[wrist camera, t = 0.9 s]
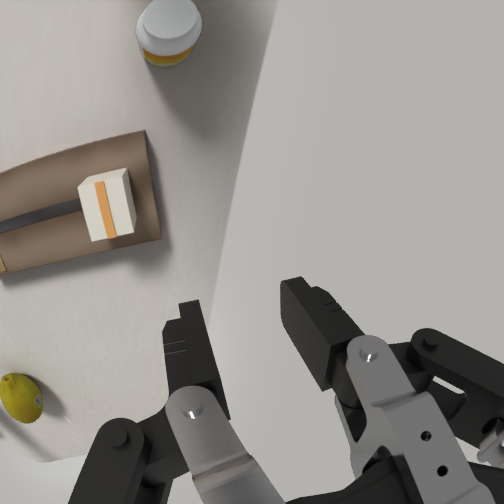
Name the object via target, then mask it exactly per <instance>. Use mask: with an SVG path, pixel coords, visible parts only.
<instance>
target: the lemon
mask: <svg viewBox="0 0 504 504" xmlns="http://www.w3.org/2000/svg"><path fill="white" fill-rule="evenodd" d="M0 397H1V400H2V403H3V405H4V407H5V409H6V410H7V412H8V413H9V414H10V415H11V416H12V417H13V418H14V419H16V420H18V421H20V422H22V423H32V422H34V421H36V420H37V419H38V418H39V417H40V416H41V414H42V411H43V398H42V395H41V392H40V390H39V388H38V387H37V385H36V384H35V383H34V382H33V381H32V380H31V379H29V378H28V377H26V376H24V375H22V374H19V373H10V374H7V375H5V376H3V377H2V379H1V383H0Z"/></svg>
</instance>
